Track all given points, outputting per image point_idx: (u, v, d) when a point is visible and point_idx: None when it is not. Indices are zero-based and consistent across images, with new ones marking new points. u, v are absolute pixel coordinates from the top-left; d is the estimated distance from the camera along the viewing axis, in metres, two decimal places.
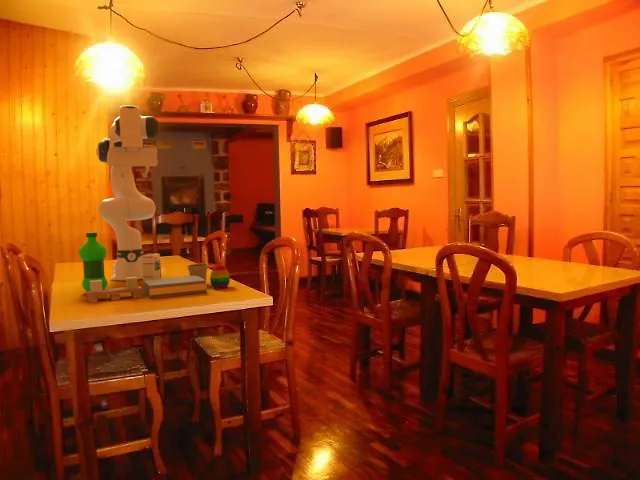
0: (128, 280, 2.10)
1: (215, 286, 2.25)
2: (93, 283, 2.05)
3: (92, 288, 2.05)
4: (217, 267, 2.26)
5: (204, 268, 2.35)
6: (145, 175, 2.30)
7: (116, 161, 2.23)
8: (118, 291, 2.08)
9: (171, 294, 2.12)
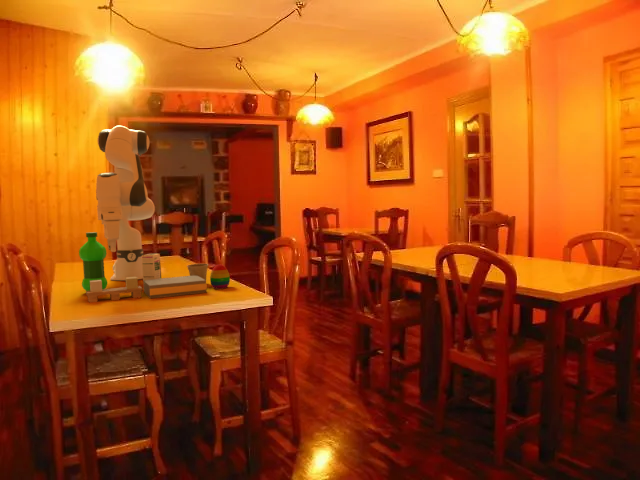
0: (128, 280, 2.10)
1: (215, 286, 2.25)
2: (93, 283, 2.05)
3: (92, 288, 2.05)
4: (217, 267, 2.26)
5: (204, 268, 2.35)
6: None
7: None
8: (118, 291, 2.08)
9: (171, 294, 2.12)
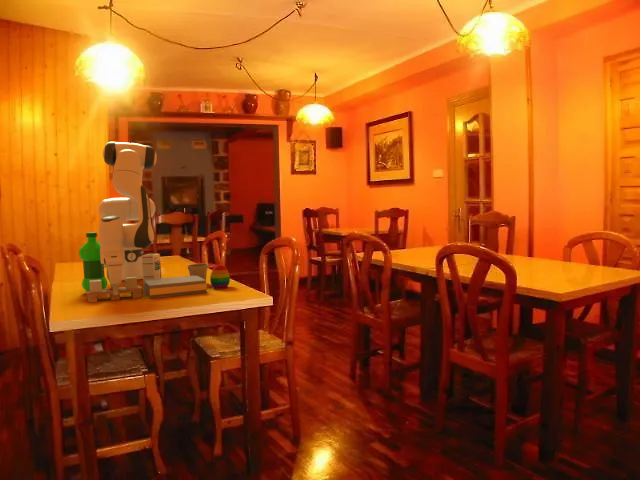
0: (128, 280, 2.10)
1: (215, 286, 2.25)
2: (93, 283, 2.05)
3: (92, 288, 2.05)
4: (217, 267, 2.26)
5: (204, 268, 2.35)
6: None
7: None
8: (118, 290, 2.08)
9: (171, 294, 2.12)
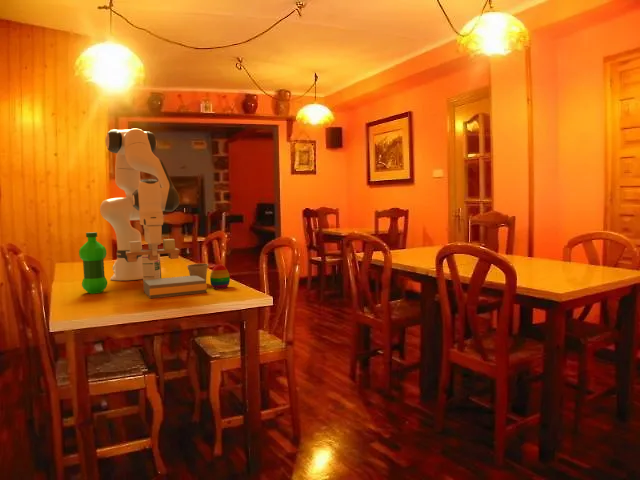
0: (166, 241, 2.15)
1: (215, 286, 2.25)
2: (132, 243, 2.10)
3: (131, 248, 2.10)
4: (217, 267, 2.26)
5: (204, 268, 2.35)
6: None
7: None
8: None
9: (171, 294, 2.12)
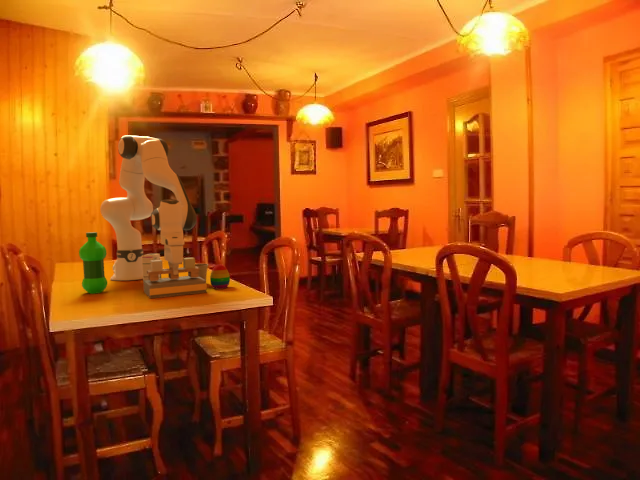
0: (186, 260, 2.20)
1: (215, 286, 2.25)
2: (154, 263, 2.14)
3: (153, 267, 2.14)
4: (217, 267, 2.26)
5: (204, 268, 2.35)
6: None
7: None
8: None
9: (171, 294, 2.12)
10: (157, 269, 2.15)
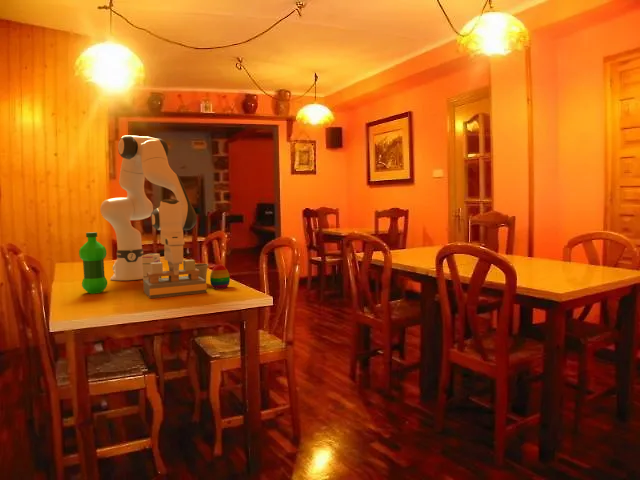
0: (186, 262, 2.20)
1: (215, 286, 2.25)
2: (154, 265, 2.14)
3: (153, 270, 2.14)
4: (217, 267, 2.26)
5: (204, 268, 2.35)
6: None
7: None
8: None
9: (171, 294, 2.12)
10: (157, 271, 2.15)
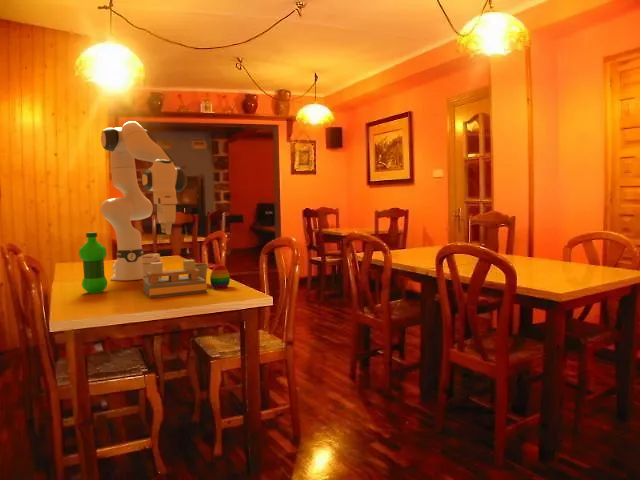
0: (186, 262, 2.20)
1: (215, 286, 2.25)
2: (154, 265, 2.14)
3: (153, 270, 2.14)
4: (217, 267, 2.26)
5: (204, 268, 2.35)
6: None
7: None
8: (177, 272, 2.17)
9: (171, 294, 2.12)
10: (157, 271, 2.15)
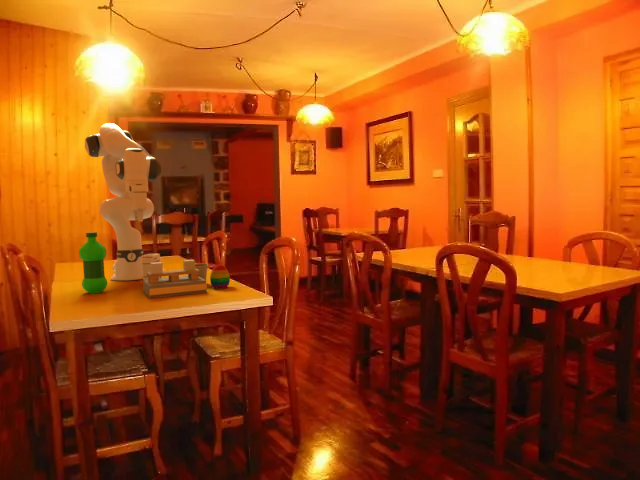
0: (186, 262, 2.20)
1: (215, 286, 2.25)
2: (154, 265, 2.14)
3: (153, 270, 2.14)
4: (217, 267, 2.26)
5: (204, 268, 2.35)
6: None
7: None
8: (177, 272, 2.17)
9: (171, 294, 2.12)
10: (157, 271, 2.15)
